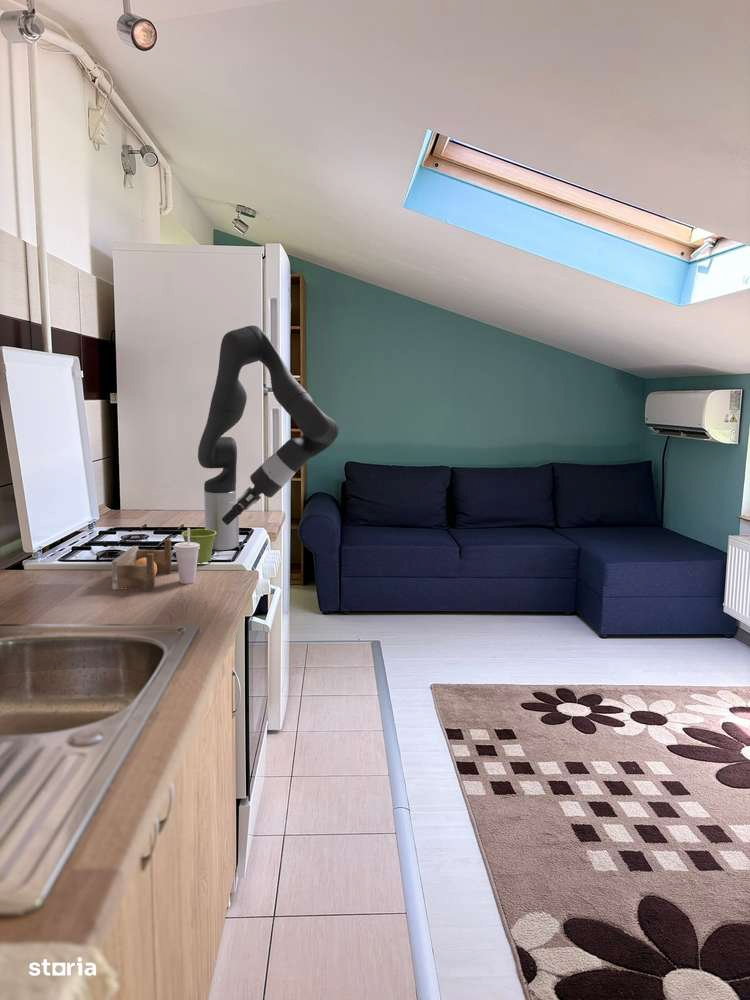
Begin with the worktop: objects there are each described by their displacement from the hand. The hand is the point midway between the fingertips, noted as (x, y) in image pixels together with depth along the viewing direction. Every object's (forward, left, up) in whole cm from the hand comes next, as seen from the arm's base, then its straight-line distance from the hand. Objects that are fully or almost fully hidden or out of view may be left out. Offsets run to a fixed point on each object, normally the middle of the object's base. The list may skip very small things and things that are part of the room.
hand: (228, 518), depth 203 cm
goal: (+14, -17, -17) cm, 27 cm away
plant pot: (-7, -22, -17) cm, 28 cm away
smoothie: (+7, -8, -17) cm, 20 cm away
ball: (+14, -16, -14) cm, 25 cm away
